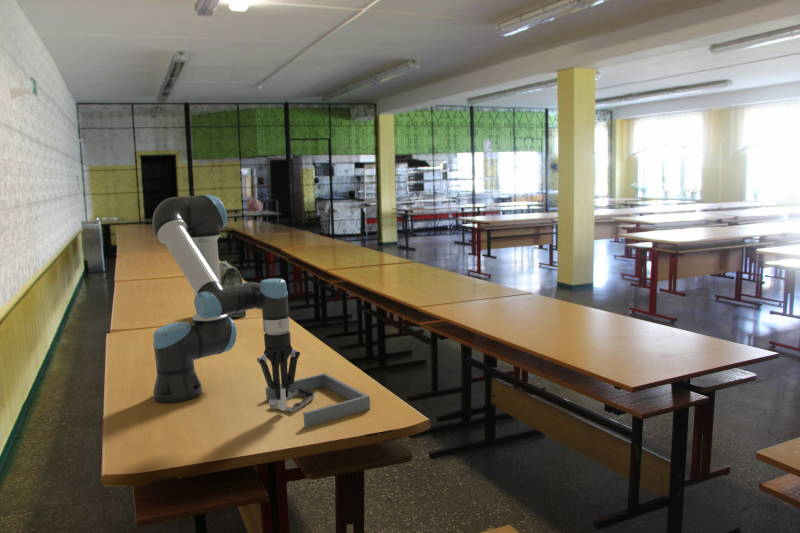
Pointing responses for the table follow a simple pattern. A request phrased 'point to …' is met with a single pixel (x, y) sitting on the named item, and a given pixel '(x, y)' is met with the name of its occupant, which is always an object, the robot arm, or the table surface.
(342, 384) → the box
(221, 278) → the bag
